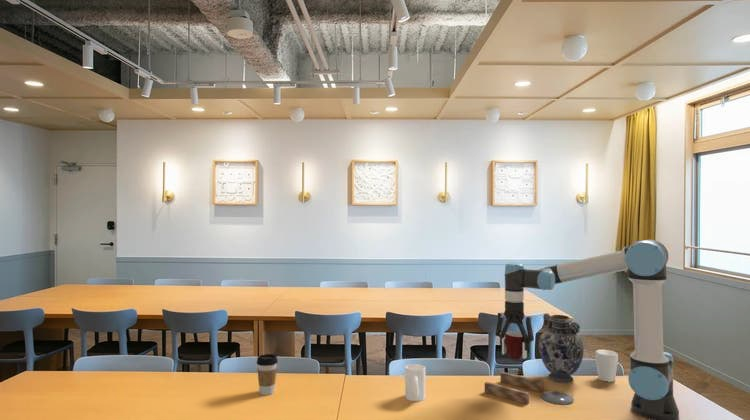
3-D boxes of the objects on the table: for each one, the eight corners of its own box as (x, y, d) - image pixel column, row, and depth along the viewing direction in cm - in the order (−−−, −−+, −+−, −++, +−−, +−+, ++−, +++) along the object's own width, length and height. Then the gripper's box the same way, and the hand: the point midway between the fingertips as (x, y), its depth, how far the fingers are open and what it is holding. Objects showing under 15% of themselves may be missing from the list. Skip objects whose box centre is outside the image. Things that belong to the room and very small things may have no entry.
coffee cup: (251, 394, 183) (252, 357, 183) (266, 387, 190) (266, 351, 190) (267, 398, 179) (268, 360, 179) (281, 390, 186) (282, 354, 186)
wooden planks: (543, 391, 188) (543, 381, 188) (527, 404, 174) (527, 394, 174) (502, 380, 199) (502, 371, 199) (484, 392, 186) (484, 382, 186)
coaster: (577, 397, 181) (577, 396, 181) (568, 407, 172) (568, 406, 172) (547, 390, 189) (547, 388, 189) (537, 398, 180) (537, 397, 180)
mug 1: (403, 405, 173) (404, 373, 173) (405, 392, 185) (405, 363, 185) (425, 406, 172) (425, 374, 172) (425, 393, 184) (425, 364, 184)
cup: (597, 381, 199) (597, 354, 199) (593, 374, 207) (593, 348, 207) (620, 384, 196) (620, 356, 196) (615, 377, 205) (615, 350, 205)
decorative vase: (596, 384, 195) (595, 319, 196) (563, 390, 189) (562, 323, 189) (559, 368, 215) (558, 310, 215) (528, 374, 208) (527, 313, 209)
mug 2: (527, 364, 181) (528, 339, 181) (506, 362, 182) (508, 338, 182) (522, 355, 191) (523, 332, 191) (502, 353, 192) (504, 330, 192)
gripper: (542, 302, 183) (542, 358, 183) (494, 296, 197) (494, 348, 196) (536, 305, 178) (536, 363, 177) (486, 299, 191) (486, 352, 191)
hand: (514, 355), depth 187 cm, fingers closed on mug 2, 8 cm apart
